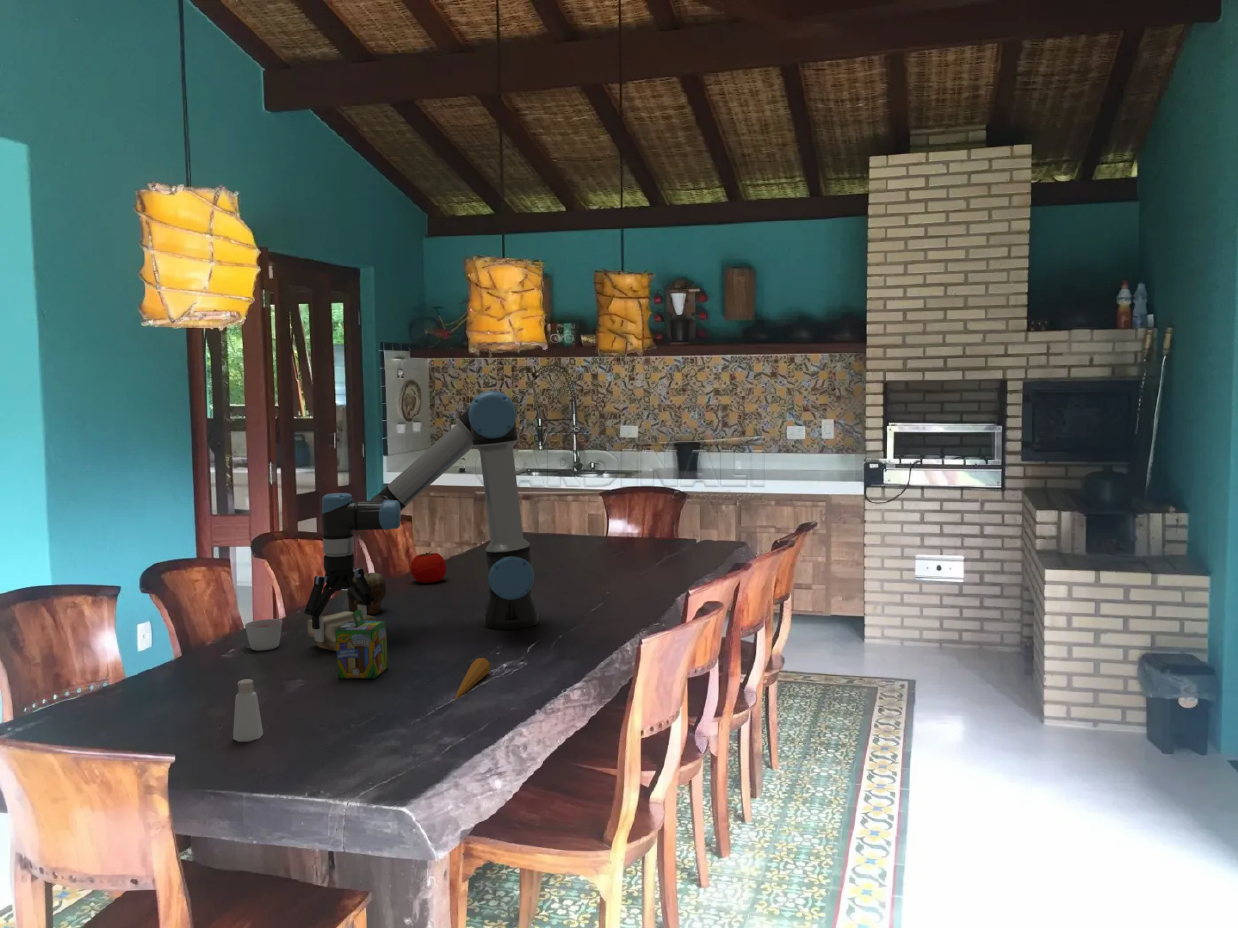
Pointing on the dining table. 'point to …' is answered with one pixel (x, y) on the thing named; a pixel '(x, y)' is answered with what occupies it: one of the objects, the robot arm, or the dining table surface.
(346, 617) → the cover board
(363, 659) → the chalk box
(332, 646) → the trivet
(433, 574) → the tomato
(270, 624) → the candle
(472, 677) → the carrot
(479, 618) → the dining table surface
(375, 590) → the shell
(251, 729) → the salt shaker
